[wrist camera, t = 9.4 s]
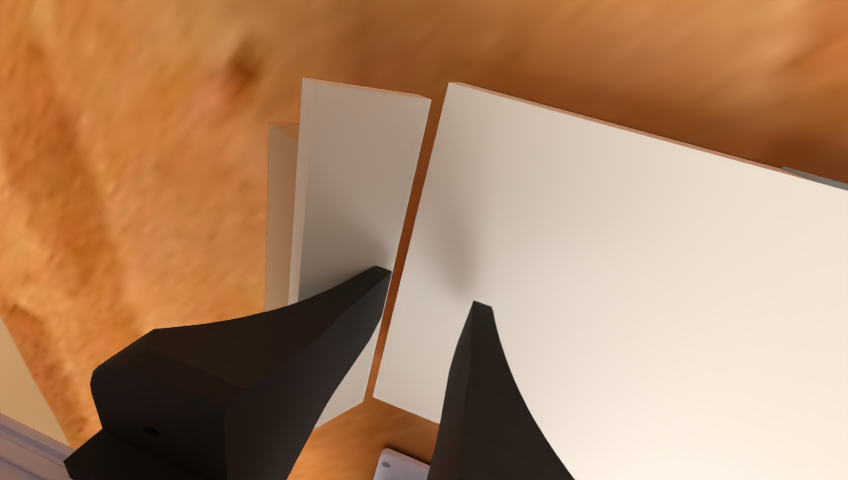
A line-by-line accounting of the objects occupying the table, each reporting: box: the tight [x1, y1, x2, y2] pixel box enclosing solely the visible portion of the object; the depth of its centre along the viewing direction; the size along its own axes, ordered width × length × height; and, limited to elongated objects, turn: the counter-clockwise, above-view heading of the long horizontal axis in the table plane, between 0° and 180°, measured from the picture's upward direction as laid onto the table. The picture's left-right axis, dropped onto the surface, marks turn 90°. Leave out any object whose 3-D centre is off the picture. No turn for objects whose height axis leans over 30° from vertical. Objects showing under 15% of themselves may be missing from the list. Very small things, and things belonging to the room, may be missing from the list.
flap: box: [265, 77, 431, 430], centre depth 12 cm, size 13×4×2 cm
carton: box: [373, 82, 848, 480], centre depth 13 cm, size 14×22×2 cm, turn 77°
